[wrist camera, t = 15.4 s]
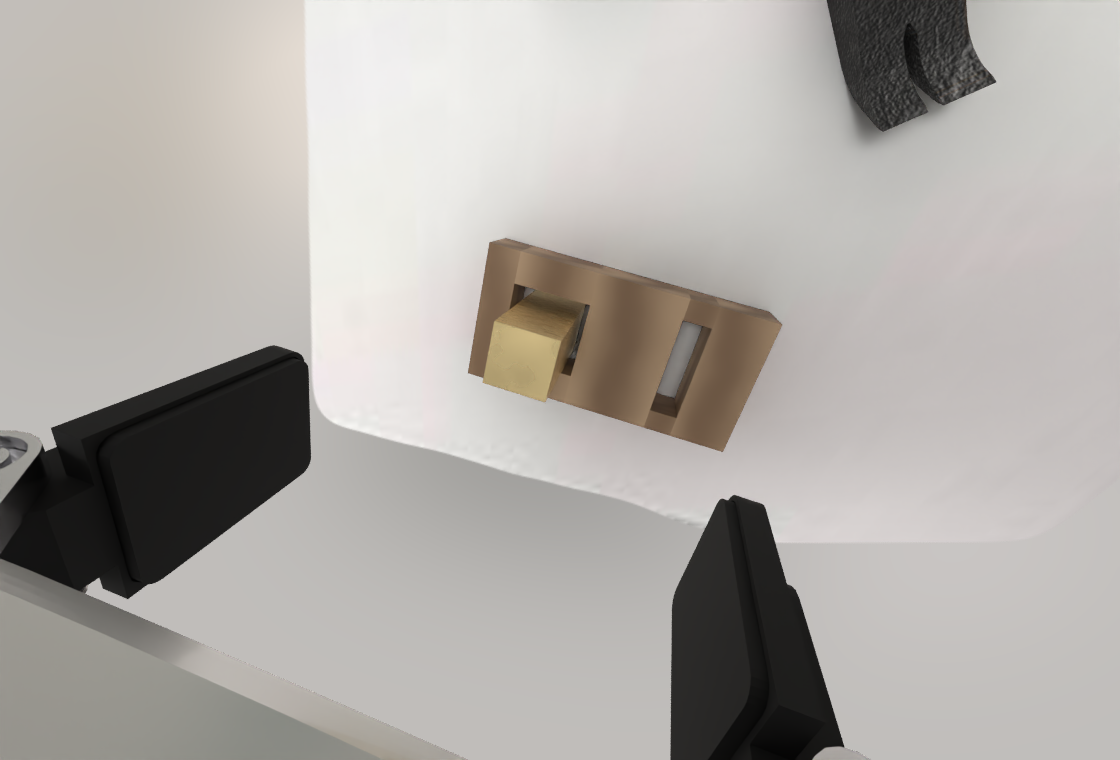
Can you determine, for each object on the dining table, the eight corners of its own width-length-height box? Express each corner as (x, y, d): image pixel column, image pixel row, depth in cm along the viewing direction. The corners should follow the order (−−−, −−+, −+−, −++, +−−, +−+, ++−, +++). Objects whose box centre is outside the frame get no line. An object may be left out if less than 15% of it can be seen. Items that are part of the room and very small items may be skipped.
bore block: (769, 312, 32) (782, 324, 29) (716, 429, 36) (722, 451, 33) (505, 238, 33) (489, 242, 30) (483, 358, 38) (468, 373, 34)
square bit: (586, 303, 34) (561, 341, 25) (573, 350, 36) (545, 402, 27) (536, 288, 34) (494, 321, 25) (526, 336, 36) (482, 382, 27)
